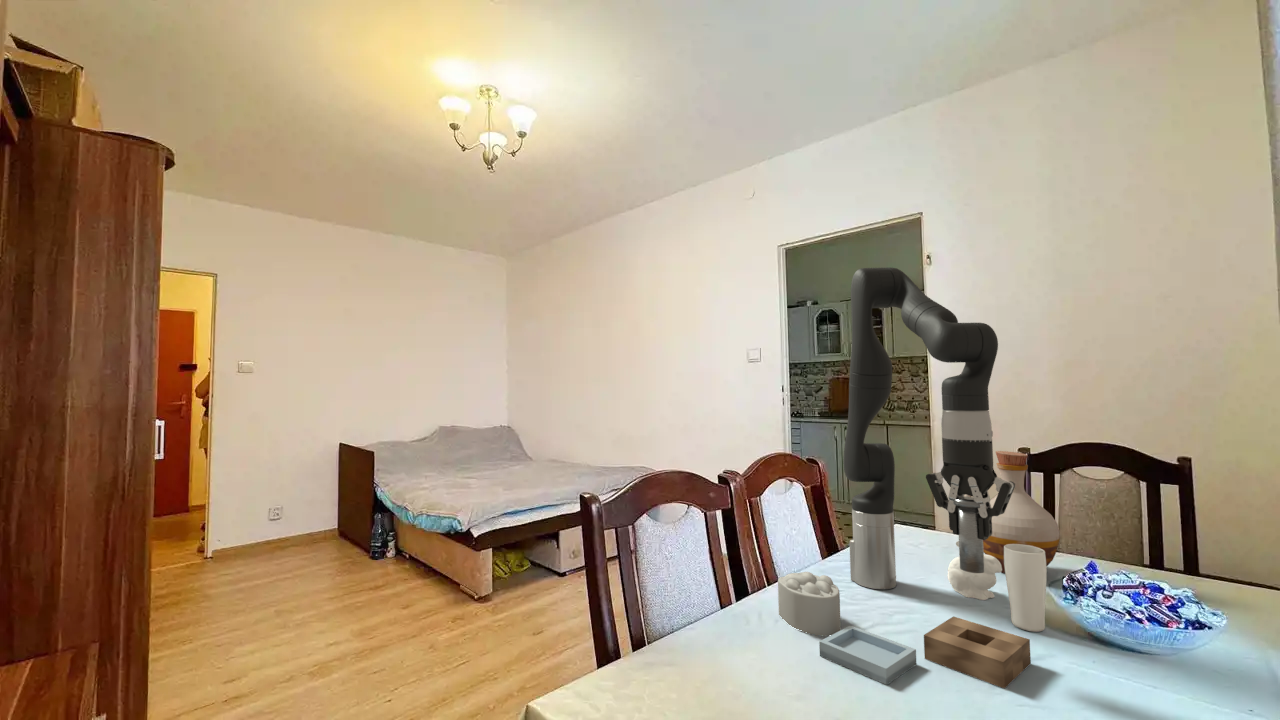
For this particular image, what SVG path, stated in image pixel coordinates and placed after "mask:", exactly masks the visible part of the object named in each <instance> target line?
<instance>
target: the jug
mask: <svg viewBox="0 0 1280 720" xmlns="http://www.w3.org/2000/svg"><path fill="white" fill-rule="evenodd" d="M995 454H996V457H997V460H998V462H997V463H996V467H997V469H998V471H999V473H1000V477H998V476H997V477H998V478H1000V479H1003V480H1005V481H1007V482H1009V481H1012V482H1014V483H1015V488H1014V490H1013V493H1012V495H1011V498H1010V500H1009V503H1008V505H1007V508H1006V510H1005V512H1004V513H1003V514H1000V515H999V516H993V517H992V535H991V536H990V537H989V538H988V539H986V540H983V550H984V554H986V555H991V556H993V557H995V558H996V559H997V560H998V561H999V562H1000V563H1001V567H1002V571H1001V572H1000V573H1001V574H1004V575H1005V567H1004V546H1005V545H1007V544H1023V545H1030V546H1034V547H1038V548H1041V549H1043V550H1044V551H1045V555H1046V566H1047V567H1048V566H1049V565H1050V564H1051V563H1052V562H1053V560H1054V558H1055V556H1056V553H1057V552H1058V547H1059V544H1060V538H1061V537H1060V536H1061V535H1060V534H1061V531H1060V528H1059V525H1058V522H1057V521H1056V520H1055V518H1054V517H1053V515H1052V514H1051V513H1050V512H1049V511H1048V510H1046V509H1045V508H1044V507H1043V506H1042V505H1040V504H1039V503H1038V502H1037V501H1036V500H1035V499H1033V498H1032V497H1031V496H1030V495H1029V494H1028V493H1027V492H1026V490H1025V475H1026V471H1028V467H1029V465H1028V464H1026V462H1027V459H1028V456H1029V455H1028V454H1026V453H1023V452H1022V453H1021V452H1015V451H1007V450H996V451H995ZM964 496H965V497H972V496H970V495H967V494H966V495H964ZM997 496H998V493H996V495H994V496H993V497H992V498H990V504H991V507H992V508H993V505H994V503H995V501H996V498H997Z"/></svg>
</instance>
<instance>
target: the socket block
mask: <svg viewBox="0 0 1280 720" xmlns="http://www.w3.org/2000/svg"><path fill="white" fill-rule="evenodd" d="M1030 640H1031V639H1029V638H1026V637H1024V636H1020V635H1016V634H1013V633H1010V632H1006V631H1003V630H1000V629H997V628H994V627H991V626H987V625H984V624H981V623H977V622H974V621H970V620H967V619H963V618H960V617H958V616H952V617H950V618H948V619H947V620H945V621H944V622H942V623H941V624H939V625H937V626H936V627H934V628H933V629H931V630H929V631H928V632H926V633H925V634H923V651H924V652H923V653H924V660H927V661H930V662H932V663H936V664H937V665H940V666H943V667H945V668H948V669H950V670H954V671H956V672H959V673H962V674H965V675H968V676H970V677H972V678H975V679H977V680H981V681H983V682H986V683H988V684H992V685H994V686H996V687H999V688H1002V689H1006V688H1007V687H1008V686H1009V685H1010V684H1011V683H1012V682H1013V681H1014V680H1015V679H1017V678H1018V676H1020V675H1021V674H1022V673H1023V672H1024V671H1025V670H1026V669H1027V668H1028V667H1029V666H1030V665H1031V664H1032V660H1031V643H1030V642H1031V641H1030Z"/></svg>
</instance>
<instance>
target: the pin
mask: <svg viewBox="0 0 1280 720" xmlns="http://www.w3.org/2000/svg"><path fill="white" fill-rule="evenodd" d="M953 504H954V505H956V506H957V511H958V534H959V535H958V541H959V547H958V552H959V553H958V554H959V556H958V557H960V569H961V570H963V571H966V572H971V573H983V572H984V554H985V553H984V550H983V540H981V539H980V538H979V520H978V518H979V517H980V514H979V510H978V508H980V504H978V503H976V502H975V501H974V498H973V496H971V497H965V495H964V497H961V498H958V499H954V500H953Z"/></svg>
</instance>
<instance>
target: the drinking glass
mask: <svg viewBox="0 0 1280 720" xmlns="http://www.w3.org/2000/svg"><path fill="white" fill-rule="evenodd" d="M1004 567H1005V574H1004V575H1005V581H1006V586H1007V595H1008V601H1009V608H1010V620H1011V623H1012V624H1013V626H1014V627H1016V628H1018V629H1019V630H1023V631H1025V632H1026V631H1027V632H1033V633H1040V632H1043V631H1044V630H1045V629H1046V596H1047V579H1048V573H1047V572H1048V566H1046V555H1045V551H1044V550H1043V549H1041V548H1038V547H1034V546H1030V545H1023V544H1007V545H1005V546H1004Z"/></svg>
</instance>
